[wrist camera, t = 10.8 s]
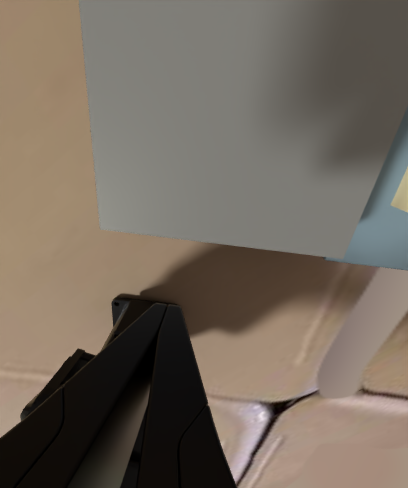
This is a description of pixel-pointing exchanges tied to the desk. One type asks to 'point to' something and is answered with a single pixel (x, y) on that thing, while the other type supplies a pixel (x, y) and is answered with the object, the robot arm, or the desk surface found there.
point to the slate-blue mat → (383, 214)
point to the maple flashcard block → (402, 194)
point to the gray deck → (243, 116)
